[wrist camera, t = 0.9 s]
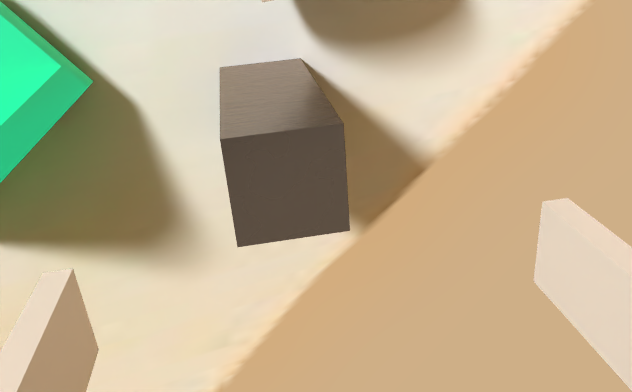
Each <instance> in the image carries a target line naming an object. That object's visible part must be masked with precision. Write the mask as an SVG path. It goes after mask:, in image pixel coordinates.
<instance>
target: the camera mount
mask: <svg viewBox="0 0 632 392" xmlns="http://www.w3.org/2000/svg"><path fill="white" fill-rule="evenodd" d="M92 83H93V80H91V79H90V78H89V77H88V76H87V75H86V74H84V73H83V72H82V71H81V70H80V69H79V68H77V67H76V66H75V65H74V64H73V63H72V62H70V61H69V60H68V59H67V58H66V57H65V56H63V55H62V54H61V53H60V52H59V51H58V50H57V49H55V48H54V47H53V46H52V45H51V44H50V43H48V42H47V41H46V40H45V39H44V38H43V37H41V36H40V35H39V34H38V33H37V32H36V31H34V30H33V29H32V28H31V27H30V26H29V25H27V24H26V23H25V22H24V21H23V20H22V19H21V18H19V17H18V16H17V15H16V14H15V13H14V12H12V11H11V10H10V9H9V8H8V7H7V6H5V5H4V4H3V3H2V2H1V1H0V183H1V182H2V181H3V180H4V179H5V178H6V176H7V175H8V174H9V173H10V172H11V171H12V170H13V169H14V168H15V167H16V166H17V164H18V163H19V162H20V161H21V160H22V159H23V158H24V157H25V156H26V155H27V154H28V153H29V151H30V150H31V149H32V148H33V147H34V146H35V145H36V144H37V143H38V142H39V141H40V139H41V138H42V137H43V136H44V135H45V134H46V133H47V132H48V131H49V130H50V129H51V128H52V126H53V125H54V124H55V123H56V122H57V121H58V120H59V119H60V118H61V117H62V116H63V114H64V113H65V112H66V111H67V110H68V109H69V108H70V107H71V106H72V105H73V104H74V103H75V101H76V100H77V99H78V98H79V97H80V96H81V95H82V94H83V93H84V92H85V91H86V89H87V88H88V87H89V86H90V85H91V84H92Z"/></svg>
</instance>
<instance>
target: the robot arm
mask: <svg viewBox="0 0 632 392" xmlns="http://www.w3.org/2000/svg"><path fill="white" fill-rule="evenodd" d="M534 282H535V283H536V284H537V285H538V287H539V288H540V289H541V290H542V291H543V292H544V293H545V294H546V295H547V297H548V298H549V299H550V300H551V301H552V302H553V303H554V304H555V306H556V307H557V308H558V309H559V310H560V311H561V312H562V314H563V315H564V316H565V317H566V318H567V319H568V320H569V321H570V322H571V324H572V325H573V326H574V327H575V328H576V329H577V330H578V331H579V333H580V334H581V335H582V336H583V337H584V338H585V339H586V340H587V341H588V343H589V344H590V345H591V346H592V347H593V348H594V349H595V350H596V352H597V353H598V354H599V355H600V356H601V357H602V358H603V359H604V361H605V362H606V363H607V364H608V365H609V366H610V367H611V368H612V370H613V371H614V372H615V373H616V374H617V375H618V376H619V377H620V378H621V380H622V381H623V382H624V383H625V384H626V385H627V386H628V388H629V389H630V390H631V391H632V247H631V246H629V245H628V244H627V243H626V242H624V241H623V240H622V239H620V238H619V237H618V236H616V235H615V234H614V233H612V232H611V231H610V230H609V229H607V228H606V227H605V226H603V225H602V224H601V223H599V222H598V221H597V220H596V219H594V218H593V217H591V216H590V215H589V214H588V213H586V212H585V211H584V210H583V209H581V208H580V207H579V206H577V205H576V204H575V203H573V202H572V201H571V200H570V199H568V198H564V199H557V200H550V201H543V202H542V210H541V219H540V229H539V238H538V247H537V256H536V266H535V274H534ZM98 350H99V349H98V346H97V343H96V340H95V337H94V333H93V330H92V327H91V324H90V321H89V318H88V315H87V311H86V308H85V305H84V302H83V299H82V296H81V293H80V289H79V286H78V283H77V280H76V277H75V274H74V271H73V268H72V269H65V270H58V271H51V272H44V273H42V275H41V277H40V279H39V281H38V283H37V284H36V286H35V288H34V290H33V292H32V294H31V296H30V297H29V299H28V301H27V303H26V305H25V307H24V309H23V310H22V312H21V314H20V316H19V318H18V320H17V322H16V323H15V325H14V327H13V329H12V331H11V333H10V334H9V336H8V338H7V340H6V342H5V344H4V346H3V347H2V349H1V351H0V392H86V389H87V386H88V383H89V380H90V376H91V373H92V370H93V366H94V363H95V360H96V357H97V353H98Z"/></svg>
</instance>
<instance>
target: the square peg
mask: <svg viewBox="0 0 632 392" xmlns="http://www.w3.org/2000/svg"><path fill="white" fill-rule="evenodd" d="M220 142H221V148H222V154H223V160H224V166H225V173H226V179H227V185H228V191H229V197H230V203H231V209H232V216H233V222H234V228H235V234H236V240H237V246H238V247H242V246H249V245H255V244H262V243H269V242H276V241H283V240H289V239H296V238H303V237H310V236H317V235H323V234H330V233H337V232H344V231H350V225H349V208H348V191H347V174H346V158H345V141H344V124H343V122H342V121H341V119H340V117H339V116H338V114H337V113H336V111H335V110H334V108H333V107H332V105H331V104H330V102H329V101H328V99H327V98H326V96H325V95H324V93H323V92H322V90H321V89H320V87H319V86H318V84H317V83H316V81H315V80H314V78H313V77H312V75H311V74H310V72H309V71H308V69H307V68H306V66H305V64H304V63H303V61H302V60H301V58H300V59H291V60H282V61H274V62H265V63H256V64H247V65H238V66H229V67H220Z"/></svg>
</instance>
